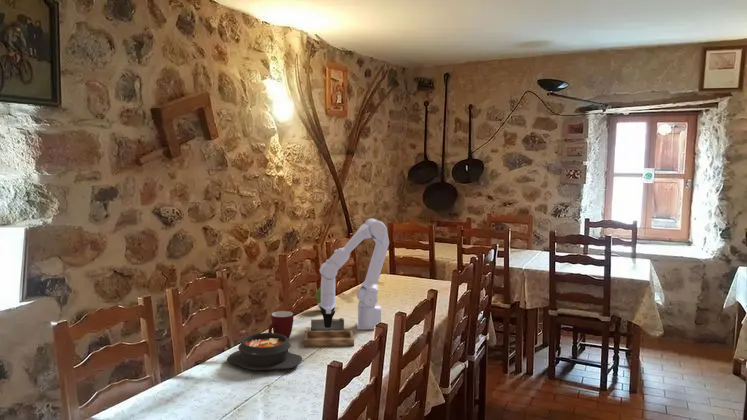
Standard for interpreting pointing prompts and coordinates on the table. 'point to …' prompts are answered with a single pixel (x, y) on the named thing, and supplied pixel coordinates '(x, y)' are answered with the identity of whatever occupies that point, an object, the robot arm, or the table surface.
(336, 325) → the slotted metal channel
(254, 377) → the table surface
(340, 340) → the wooden tray
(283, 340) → the casserole
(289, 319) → the mug
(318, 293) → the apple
